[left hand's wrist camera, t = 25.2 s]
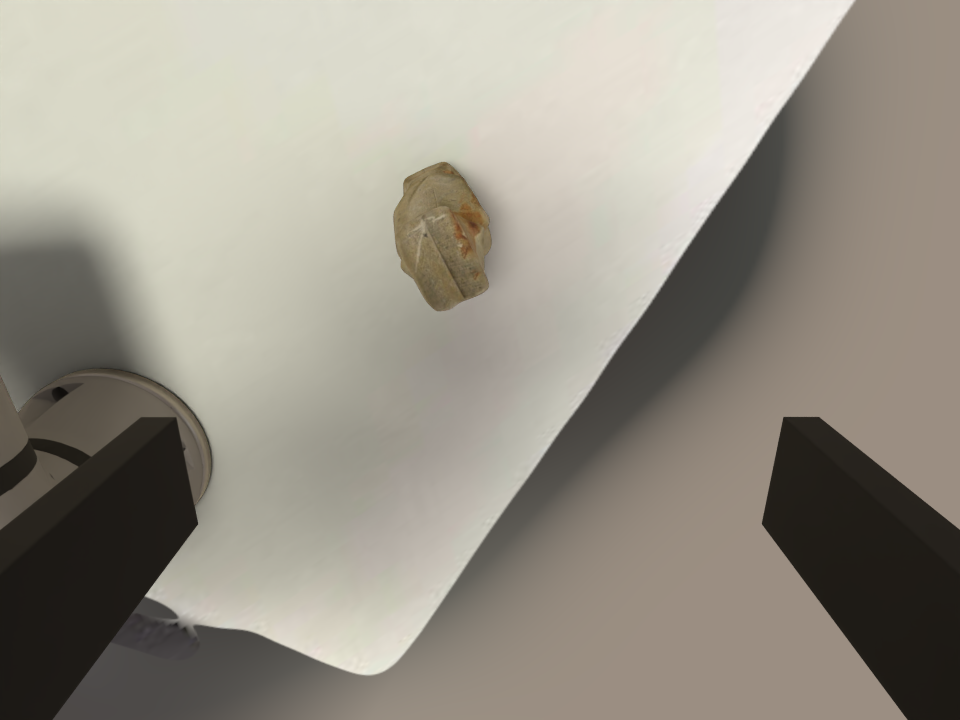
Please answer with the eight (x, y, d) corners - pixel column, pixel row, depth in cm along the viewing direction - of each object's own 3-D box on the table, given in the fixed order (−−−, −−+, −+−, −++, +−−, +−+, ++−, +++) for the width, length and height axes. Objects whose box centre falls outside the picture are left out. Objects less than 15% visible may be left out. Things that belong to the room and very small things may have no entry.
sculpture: (431, 273, 44) (408, 333, 30) (392, 181, 42) (348, 199, 28) (503, 245, 43) (514, 294, 29) (467, 150, 41) (461, 153, 27)
